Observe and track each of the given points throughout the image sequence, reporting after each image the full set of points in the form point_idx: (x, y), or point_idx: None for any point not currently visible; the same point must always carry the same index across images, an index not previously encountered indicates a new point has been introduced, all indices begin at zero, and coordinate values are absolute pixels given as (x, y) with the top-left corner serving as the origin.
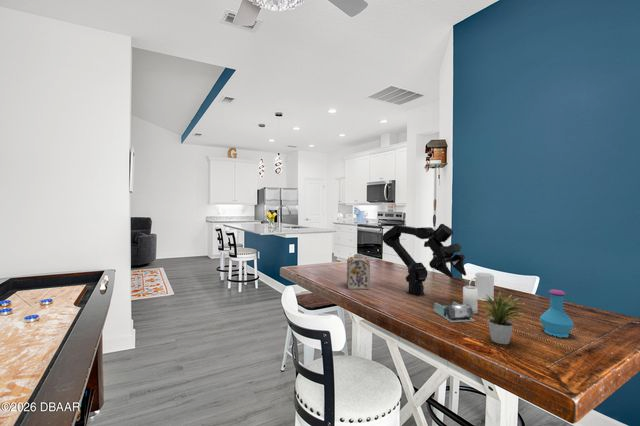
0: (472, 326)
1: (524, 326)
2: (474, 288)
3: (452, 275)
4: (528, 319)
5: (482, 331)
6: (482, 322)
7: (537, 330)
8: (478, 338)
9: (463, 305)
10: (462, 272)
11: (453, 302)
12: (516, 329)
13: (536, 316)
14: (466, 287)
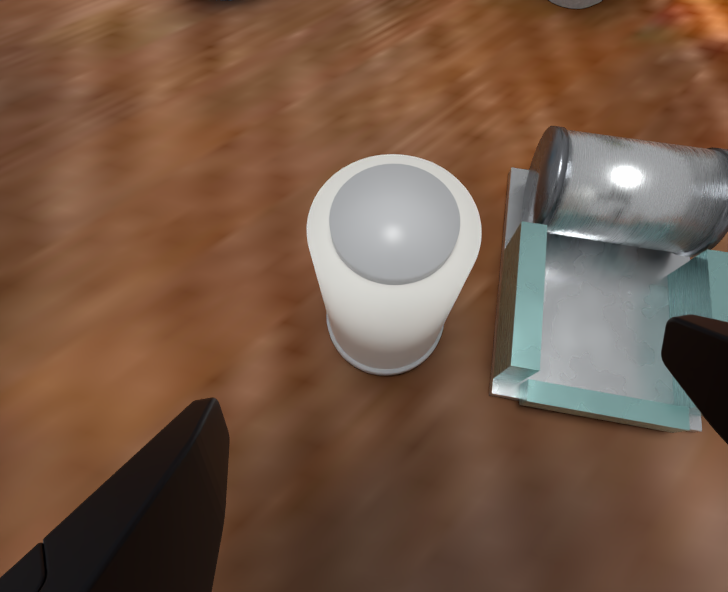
0: (583, 121)
1: (286, 50)
2: (388, 168)
3: (696, 319)
4: (146, 105)
5: (576, 64)
6: (472, 146)
7: (277, 6)
8: (659, 19)
9: (613, 147)
10: (207, 499)
11: (537, 356)
12: (370, 37)
13: (38, 123)
14: (458, 225)
